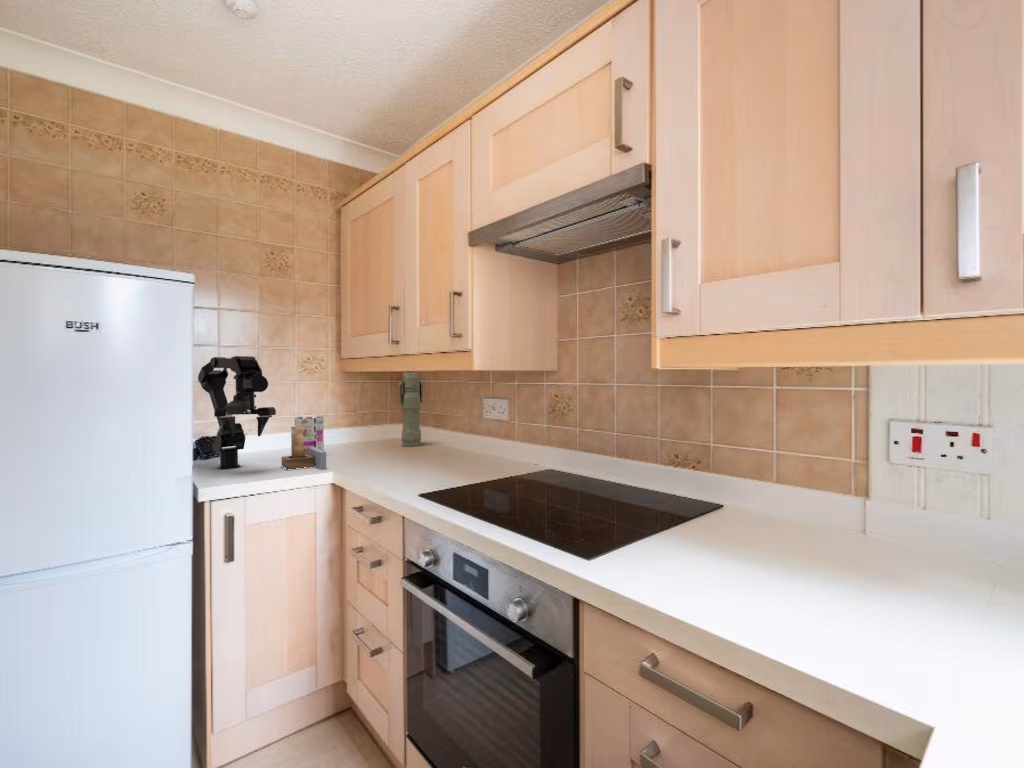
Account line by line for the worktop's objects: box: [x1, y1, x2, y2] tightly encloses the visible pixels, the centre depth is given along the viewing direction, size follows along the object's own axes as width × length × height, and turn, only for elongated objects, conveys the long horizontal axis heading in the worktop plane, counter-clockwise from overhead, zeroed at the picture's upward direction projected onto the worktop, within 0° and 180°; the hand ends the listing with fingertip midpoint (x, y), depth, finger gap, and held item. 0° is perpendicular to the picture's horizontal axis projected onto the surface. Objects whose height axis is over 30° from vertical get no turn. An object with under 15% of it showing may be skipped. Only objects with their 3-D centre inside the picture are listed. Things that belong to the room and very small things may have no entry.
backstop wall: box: [309, 447, 327, 470], centre depth 178 cm, size 16×2×6 cm, turn 36°
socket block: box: [281, 454, 315, 470], centre depth 177 cm, size 9×9×4 cm
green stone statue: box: [397, 371, 424, 448], centre depth 230 cm, size 9×12×35 cm
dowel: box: [290, 425, 304, 459], centre depth 177 cm, size 4×4×14 cm
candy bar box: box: [294, 415, 325, 455], centre depth 202 cm, size 11×5×16 cm, turn 68°
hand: (246, 436), depth 170 cm, fingers open, 9 cm apart
